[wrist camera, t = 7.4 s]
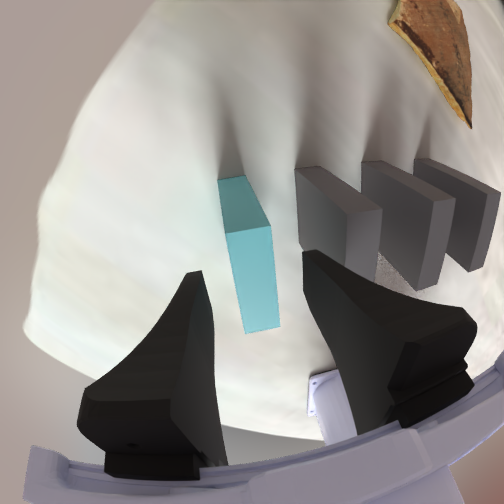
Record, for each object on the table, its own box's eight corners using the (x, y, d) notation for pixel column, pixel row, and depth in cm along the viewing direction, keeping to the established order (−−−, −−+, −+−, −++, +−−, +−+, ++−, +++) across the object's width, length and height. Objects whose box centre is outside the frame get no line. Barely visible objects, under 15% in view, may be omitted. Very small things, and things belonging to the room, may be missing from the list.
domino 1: (245, 175, 16) (270, 225, 10) (255, 250, 18) (280, 327, 12) (217, 180, 16) (225, 233, 10) (230, 254, 18) (245, 333, 12)
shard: (459, 125, 16) (475, 130, 15) (388, 116, 15) (404, 120, 14) (450, 5, 11) (465, 3, 9) (373, -24, 10) (387, -32, 8)
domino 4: (429, 158, 17) (501, 192, 11) (423, 220, 19) (482, 266, 13) (414, 159, 17) (487, 194, 11) (408, 222, 19) (468, 272, 13)
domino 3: (381, 160, 16) (455, 198, 10) (378, 228, 19) (436, 284, 13) (361, 162, 16) (433, 201, 10) (359, 231, 19) (415, 291, 13)
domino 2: (319, 165, 16) (382, 208, 10) (321, 238, 19) (370, 305, 13) (294, 168, 16) (347, 214, 10) (299, 242, 19) (340, 313, 13)
